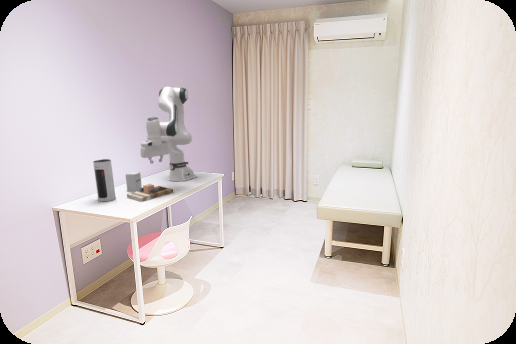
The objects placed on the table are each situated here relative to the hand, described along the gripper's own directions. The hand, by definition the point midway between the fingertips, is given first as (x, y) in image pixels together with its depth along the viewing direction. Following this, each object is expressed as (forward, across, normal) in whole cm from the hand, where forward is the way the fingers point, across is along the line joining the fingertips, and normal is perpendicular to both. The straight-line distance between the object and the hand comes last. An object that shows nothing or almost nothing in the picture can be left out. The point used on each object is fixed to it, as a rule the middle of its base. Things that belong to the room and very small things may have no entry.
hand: (156, 162), depth 219 cm
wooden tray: (+21, +6, 0) cm, 22 cm away
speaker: (+21, +29, -15) cm, 39 cm away
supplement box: (+21, +6, -20) cm, 30 cm away
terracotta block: (+19, +8, 0) cm, 20 cm away
